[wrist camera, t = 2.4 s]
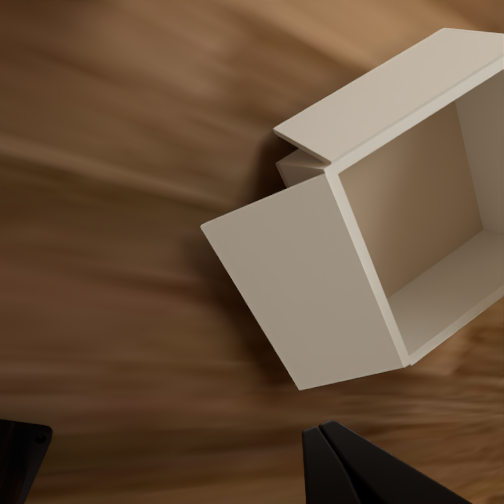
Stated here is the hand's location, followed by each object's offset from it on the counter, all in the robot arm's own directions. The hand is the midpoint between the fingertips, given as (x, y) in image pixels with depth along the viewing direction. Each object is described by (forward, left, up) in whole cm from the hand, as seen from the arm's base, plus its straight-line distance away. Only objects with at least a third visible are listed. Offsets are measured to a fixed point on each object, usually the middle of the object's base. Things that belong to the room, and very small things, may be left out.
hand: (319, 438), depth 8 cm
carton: (+6, -8, -12) cm, 16 cm away
